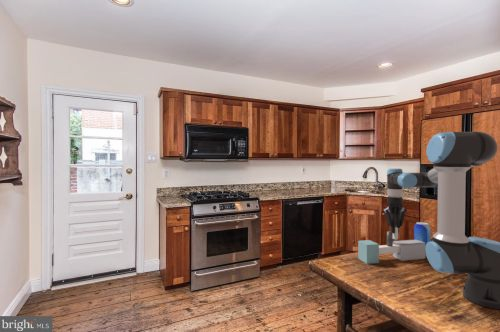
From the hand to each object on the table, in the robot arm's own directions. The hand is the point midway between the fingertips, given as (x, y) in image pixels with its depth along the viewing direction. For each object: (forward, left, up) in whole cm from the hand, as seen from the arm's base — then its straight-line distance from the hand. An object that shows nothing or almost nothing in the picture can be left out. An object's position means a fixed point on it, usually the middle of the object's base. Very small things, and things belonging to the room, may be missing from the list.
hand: (395, 238), depth 151 cm
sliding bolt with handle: (0, 0, -7) cm, 7 cm away
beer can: (+11, -27, -11) cm, 31 cm away
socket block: (0, +16, -11) cm, 20 cm away
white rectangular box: (0, -8, -11) cm, 14 cm away
